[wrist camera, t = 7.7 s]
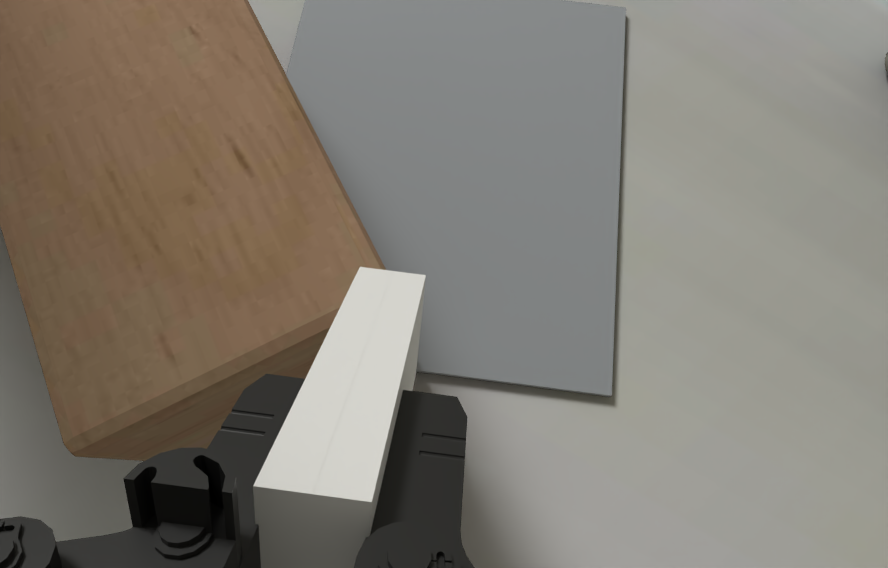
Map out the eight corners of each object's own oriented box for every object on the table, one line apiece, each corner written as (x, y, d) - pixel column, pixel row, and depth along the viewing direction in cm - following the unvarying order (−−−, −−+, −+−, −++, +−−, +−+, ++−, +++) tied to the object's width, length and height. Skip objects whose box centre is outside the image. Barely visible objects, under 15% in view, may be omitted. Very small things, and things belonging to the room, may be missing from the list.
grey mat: (314, -24, 34) (312, -30, 34) (623, 12, 34) (625, 7, 33) (220, 345, 27) (217, 344, 27) (609, 396, 27) (611, 395, 26)
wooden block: (400, 295, 17) (175, -143, 23) (59, 463, 15) (-87, -49, 21) (420, 362, 26) (258, 41, 32) (210, 469, 25) (80, 114, 31)
